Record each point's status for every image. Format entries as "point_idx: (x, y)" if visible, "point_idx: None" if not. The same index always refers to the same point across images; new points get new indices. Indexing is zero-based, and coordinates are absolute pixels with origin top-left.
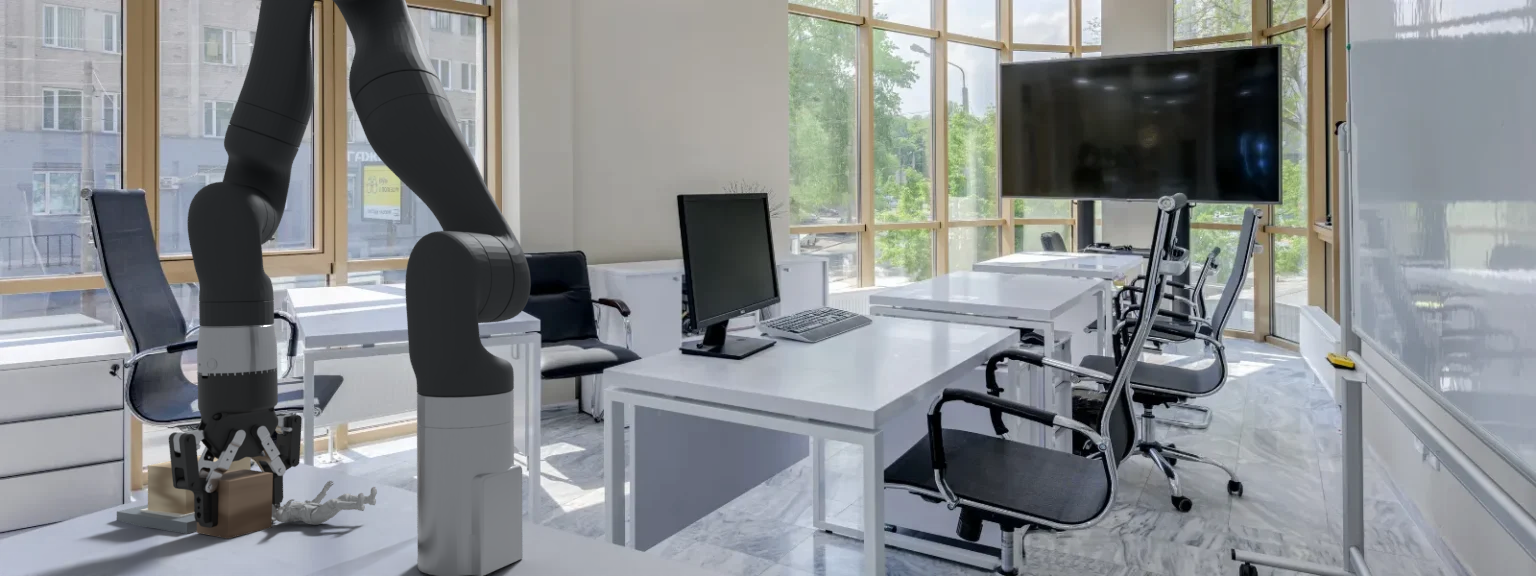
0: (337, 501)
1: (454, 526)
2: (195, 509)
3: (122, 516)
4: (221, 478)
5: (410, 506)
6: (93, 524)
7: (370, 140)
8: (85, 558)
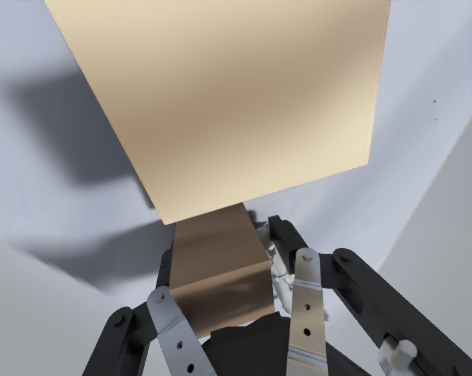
0: (290, 312)
1: None
2: (161, 268)
3: None
4: (196, 318)
5: (362, 259)
6: None
7: None
8: (19, 229)
